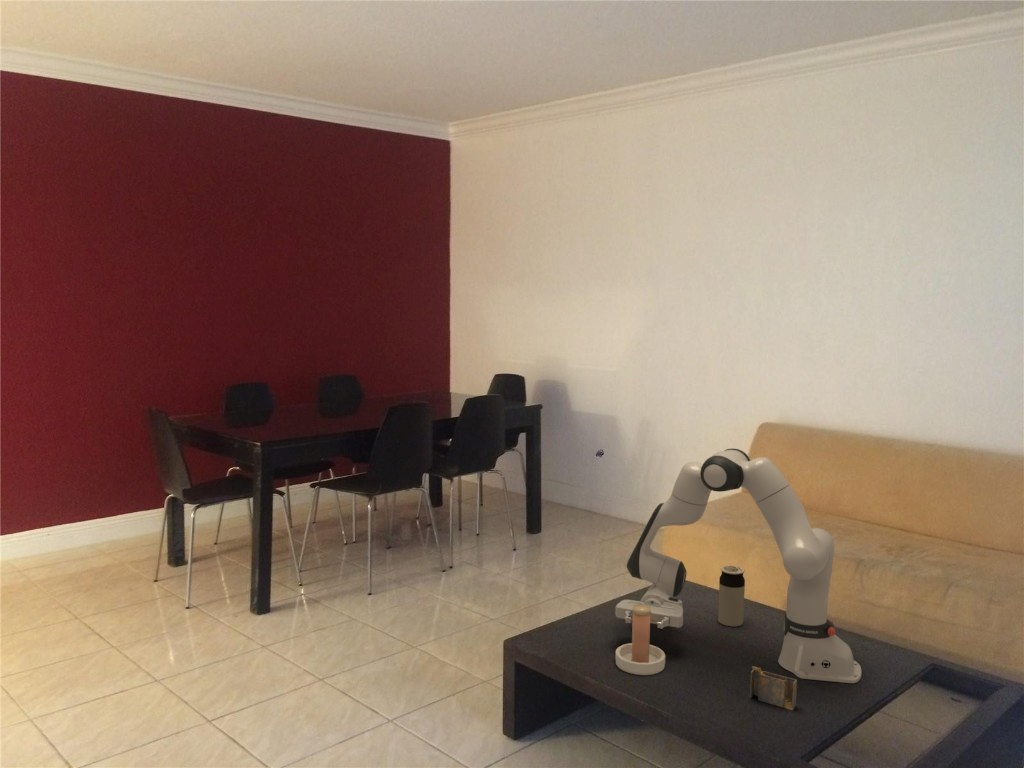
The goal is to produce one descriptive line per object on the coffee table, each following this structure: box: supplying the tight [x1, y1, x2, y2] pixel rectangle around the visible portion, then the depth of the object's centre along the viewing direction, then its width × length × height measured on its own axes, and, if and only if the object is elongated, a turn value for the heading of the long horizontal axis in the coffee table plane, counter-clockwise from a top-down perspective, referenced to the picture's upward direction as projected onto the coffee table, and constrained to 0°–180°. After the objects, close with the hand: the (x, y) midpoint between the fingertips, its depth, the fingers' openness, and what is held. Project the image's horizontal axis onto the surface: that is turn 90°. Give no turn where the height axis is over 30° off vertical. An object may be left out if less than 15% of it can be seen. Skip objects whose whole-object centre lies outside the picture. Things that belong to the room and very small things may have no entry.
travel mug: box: [717, 564, 746, 628], centre depth 270 cm, size 8×8×18 cm
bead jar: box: [631, 604, 651, 663], centre depth 240 cm, size 5×5×16 cm
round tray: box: [615, 642, 666, 676], centre depth 241 cm, size 14×14×3 cm
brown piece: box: [749, 665, 798, 711], centre depth 219 cm, size 11×3×10 cm, turn 57°
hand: (643, 623), depth 243 cm, fingers open, 8 cm apart
